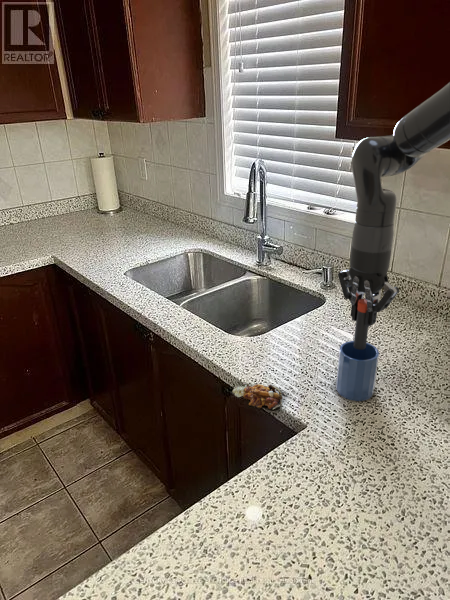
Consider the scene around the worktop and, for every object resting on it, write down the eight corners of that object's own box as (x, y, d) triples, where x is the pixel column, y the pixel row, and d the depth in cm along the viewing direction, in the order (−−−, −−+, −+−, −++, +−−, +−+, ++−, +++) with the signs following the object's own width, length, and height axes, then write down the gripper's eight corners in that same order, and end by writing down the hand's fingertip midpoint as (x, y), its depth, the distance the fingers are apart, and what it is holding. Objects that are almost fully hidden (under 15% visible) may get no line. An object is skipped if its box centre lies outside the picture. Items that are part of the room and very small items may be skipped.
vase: (380, 392, 101) (386, 351, 97) (357, 407, 97) (362, 365, 92) (351, 376, 107) (355, 336, 103) (328, 389, 103) (332, 349, 98)
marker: (368, 347, 97) (374, 301, 92) (360, 351, 95) (366, 305, 90) (358, 342, 99) (363, 297, 94) (350, 346, 97) (355, 301, 92)
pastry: (238, 384, 106) (237, 371, 105) (287, 395, 102) (287, 382, 100) (226, 402, 100) (226, 389, 99) (278, 414, 96) (278, 401, 94)
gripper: (415, 249, 84) (402, 329, 91) (354, 232, 94) (347, 305, 101) (391, 258, 80) (379, 341, 87) (330, 240, 90) (325, 315, 97)
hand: (362, 322), depth 94 cm, fingers closed on marker, 2 cm apart
